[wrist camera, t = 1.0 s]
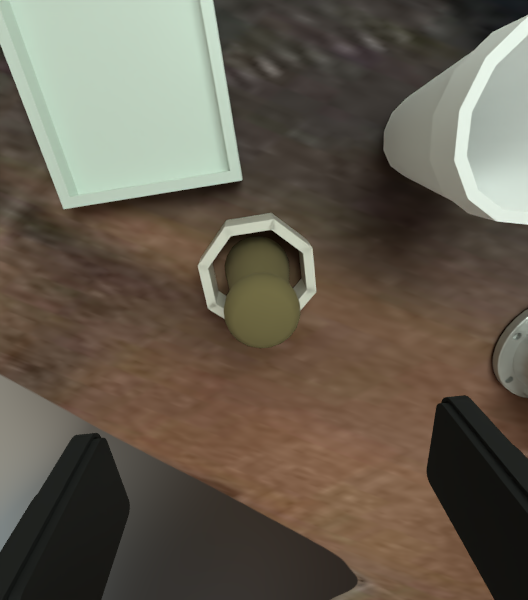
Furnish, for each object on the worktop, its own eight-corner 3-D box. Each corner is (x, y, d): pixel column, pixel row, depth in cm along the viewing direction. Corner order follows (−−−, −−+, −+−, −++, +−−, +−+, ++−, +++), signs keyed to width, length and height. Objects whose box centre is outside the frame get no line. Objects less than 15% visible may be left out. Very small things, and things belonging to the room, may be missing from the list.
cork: (300, 251, 31) (327, 298, 21) (273, 306, 33) (286, 373, 23) (239, 225, 30) (236, 262, 20) (215, 284, 32) (201, 345, 22)
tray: (242, 178, 28) (242, 180, 26) (78, 204, 28) (63, 209, 26) (192, -127, 21) (185, -162, 18) (-29, -89, 21) (-62, -119, 19)
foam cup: (406, 218, 30) (511, 260, 18) (341, 137, 27) (415, 125, 15) (499, 134, 28) (690, 121, 16) (438, 36, 25) (616, -71, 13)
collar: (312, 306, 33) (319, 320, 30) (217, 321, 33) (214, 336, 31) (303, 207, 29) (309, 213, 27) (194, 225, 29) (189, 232, 27)
